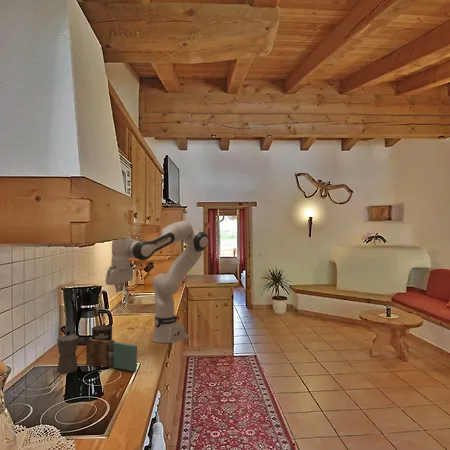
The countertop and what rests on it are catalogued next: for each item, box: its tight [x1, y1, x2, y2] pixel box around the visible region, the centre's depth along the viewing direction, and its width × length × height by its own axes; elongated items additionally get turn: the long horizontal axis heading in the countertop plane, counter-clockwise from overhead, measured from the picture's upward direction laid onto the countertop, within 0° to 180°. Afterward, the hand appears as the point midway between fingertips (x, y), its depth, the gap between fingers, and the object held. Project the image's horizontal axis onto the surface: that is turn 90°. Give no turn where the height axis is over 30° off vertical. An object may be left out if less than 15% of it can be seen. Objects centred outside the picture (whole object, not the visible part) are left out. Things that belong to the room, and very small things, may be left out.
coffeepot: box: [56, 330, 80, 375], centre depth 170 cm, size 15×9×18 cm, turn 171°
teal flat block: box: [108, 341, 138, 372], centre depth 170 cm, size 15×3×12 cm, turn 68°
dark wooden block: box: [85, 338, 116, 369], centre depth 175 cm, size 15×3×13 cm, turn 73°
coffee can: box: [91, 324, 113, 341], centre depth 190 cm, size 10×10×14 cm
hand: (119, 291), depth 192 cm, fingers closed
